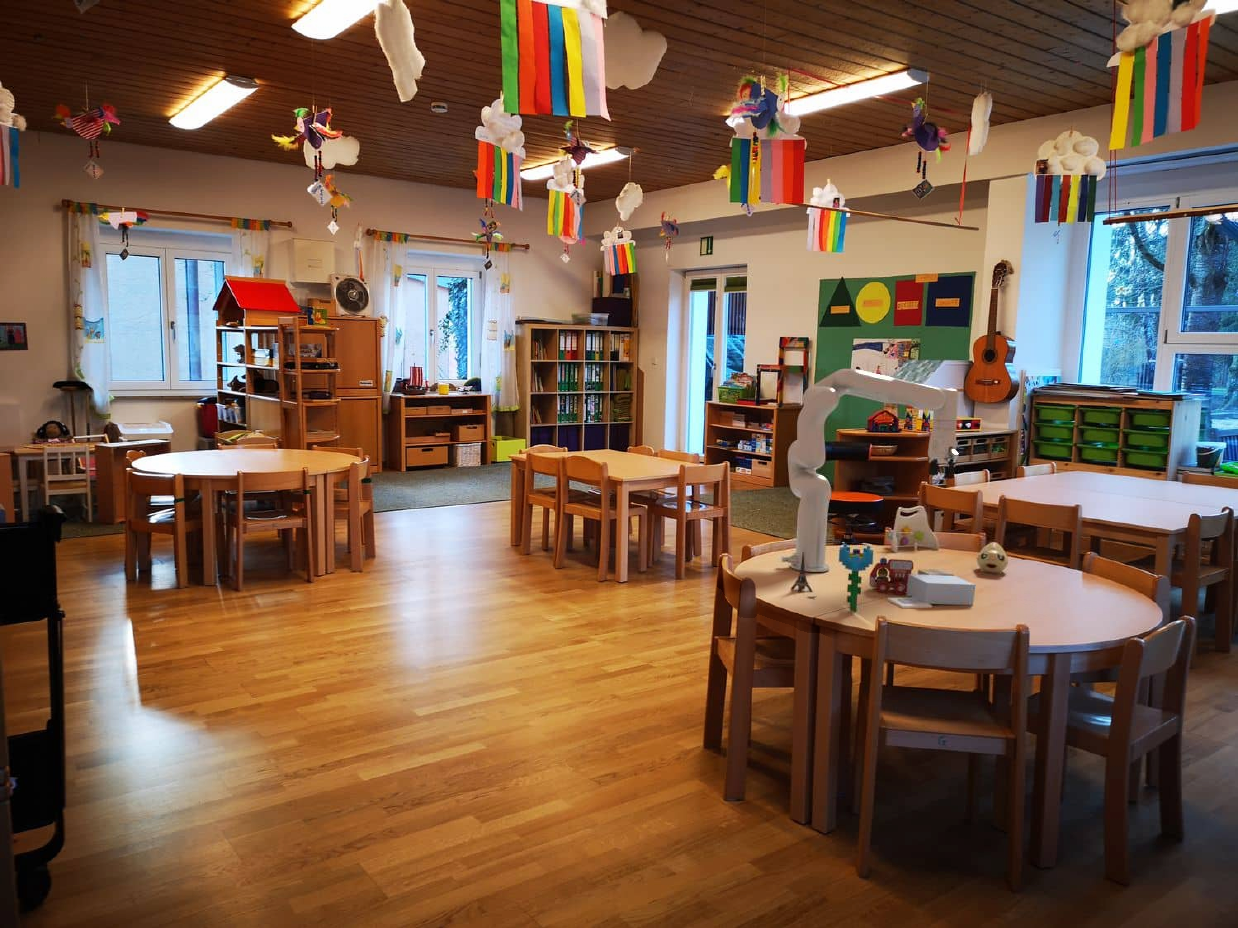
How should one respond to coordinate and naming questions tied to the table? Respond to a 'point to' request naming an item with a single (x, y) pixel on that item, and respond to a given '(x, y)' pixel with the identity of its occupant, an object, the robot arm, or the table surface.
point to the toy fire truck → (891, 575)
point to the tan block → (934, 572)
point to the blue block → (940, 589)
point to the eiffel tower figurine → (802, 579)
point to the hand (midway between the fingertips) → (941, 476)
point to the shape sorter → (912, 530)
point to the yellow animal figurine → (992, 558)
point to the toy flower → (855, 570)
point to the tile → (909, 603)
